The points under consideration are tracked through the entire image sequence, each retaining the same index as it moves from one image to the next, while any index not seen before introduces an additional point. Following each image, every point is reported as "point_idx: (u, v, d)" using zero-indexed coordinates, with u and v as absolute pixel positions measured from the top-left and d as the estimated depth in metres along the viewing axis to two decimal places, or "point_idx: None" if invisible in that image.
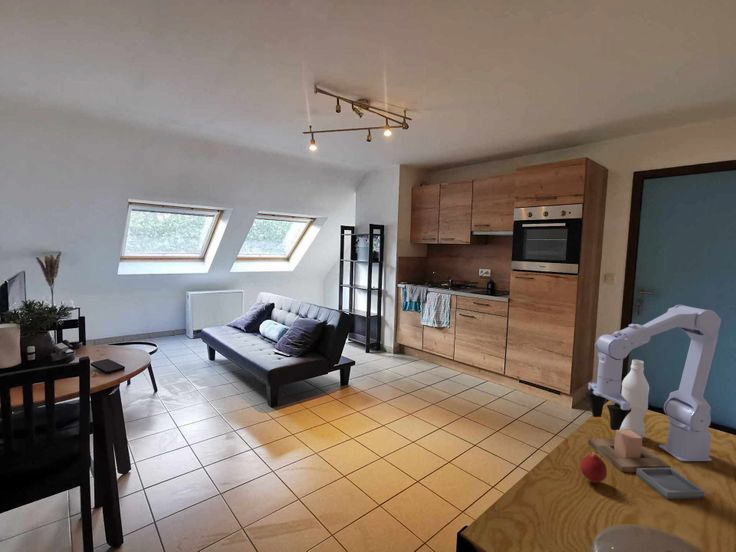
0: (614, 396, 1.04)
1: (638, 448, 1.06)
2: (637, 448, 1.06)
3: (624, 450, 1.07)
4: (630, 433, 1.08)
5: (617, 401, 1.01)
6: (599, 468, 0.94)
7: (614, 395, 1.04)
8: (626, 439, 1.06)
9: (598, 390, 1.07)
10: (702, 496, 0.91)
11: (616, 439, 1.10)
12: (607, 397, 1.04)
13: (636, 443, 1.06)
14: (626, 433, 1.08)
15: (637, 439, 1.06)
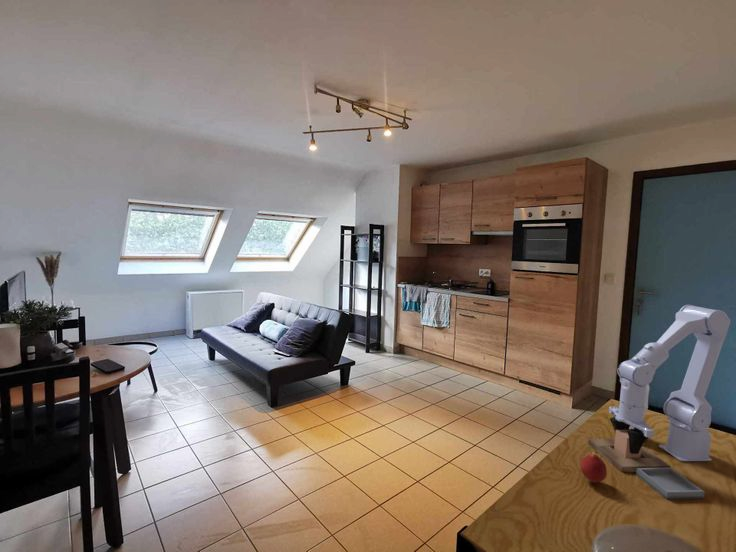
0: (637, 422, 1.04)
1: None
2: None
3: (624, 450, 1.07)
4: None
5: (640, 428, 1.02)
6: (599, 468, 0.94)
7: (637, 421, 1.04)
8: (626, 439, 1.06)
9: (620, 416, 1.07)
10: (702, 496, 0.91)
11: (616, 438, 1.10)
12: (630, 423, 1.04)
13: None
14: (626, 433, 1.08)
15: None
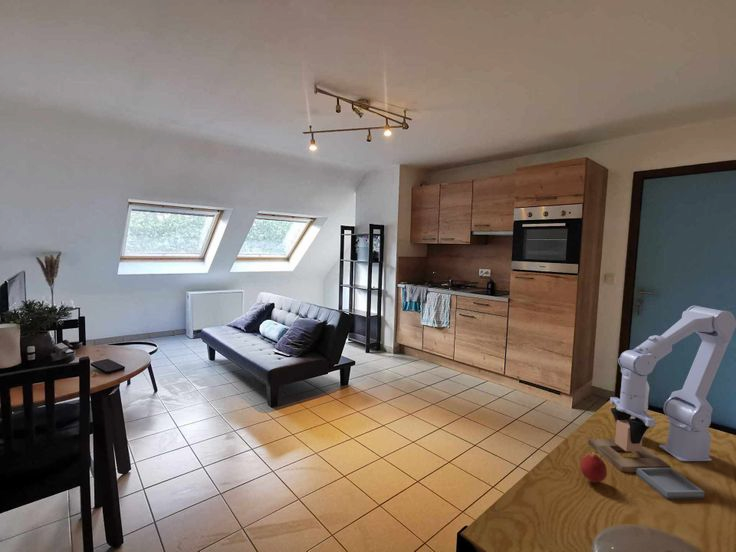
0: (638, 412, 1.04)
1: None
2: None
3: (625, 440, 1.06)
4: None
5: (642, 417, 1.02)
6: (599, 468, 0.94)
7: (638, 411, 1.04)
8: (628, 429, 1.05)
9: (621, 406, 1.07)
10: (702, 496, 0.91)
11: (617, 429, 1.09)
12: (631, 413, 1.04)
13: None
14: (627, 423, 1.08)
15: None
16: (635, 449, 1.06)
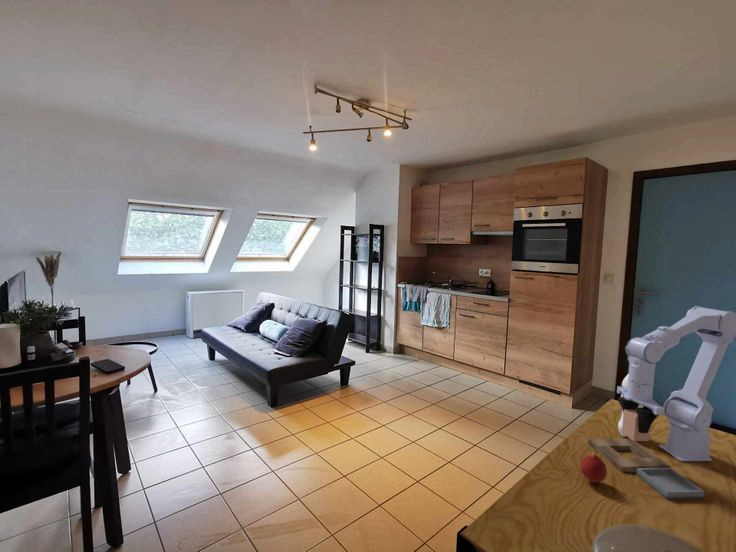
0: (646, 401, 1.02)
1: None
2: None
3: (632, 430, 1.04)
4: None
5: (650, 406, 0.99)
6: (599, 468, 0.94)
7: (646, 400, 1.02)
8: (635, 418, 1.03)
9: (629, 394, 1.04)
10: (702, 496, 0.91)
11: (624, 418, 1.07)
12: (639, 402, 1.02)
13: None
14: (635, 412, 1.05)
15: None
16: (643, 439, 1.03)
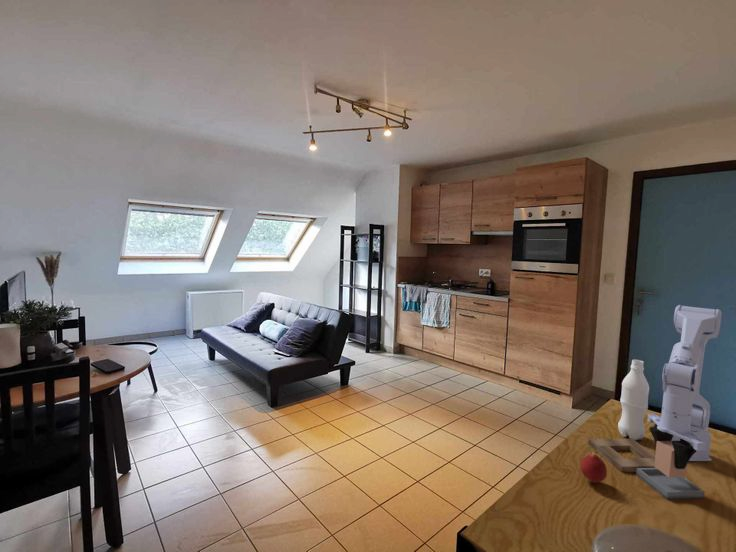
0: (684, 433, 0.91)
1: None
2: None
3: (667, 465, 0.93)
4: None
5: (689, 440, 0.89)
6: (599, 468, 0.94)
7: (684, 432, 0.91)
8: (671, 452, 0.92)
9: (663, 425, 0.94)
10: (702, 496, 0.91)
11: (657, 451, 0.96)
12: (676, 434, 0.91)
13: None
14: (670, 445, 0.95)
15: None
16: (679, 475, 0.93)
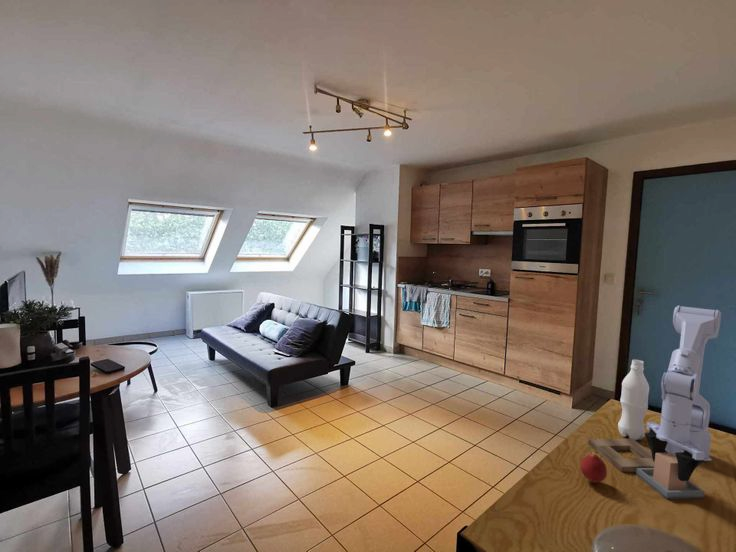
0: (683, 442, 0.91)
1: None
2: None
3: (666, 477, 0.94)
4: (672, 457, 0.95)
5: (688, 449, 0.89)
6: (598, 468, 0.94)
7: (683, 441, 0.91)
8: (670, 465, 0.93)
9: (662, 434, 0.94)
10: (702, 496, 0.91)
11: (655, 463, 0.97)
12: (675, 443, 0.91)
13: None
14: (668, 457, 0.95)
15: None
16: (678, 487, 0.93)
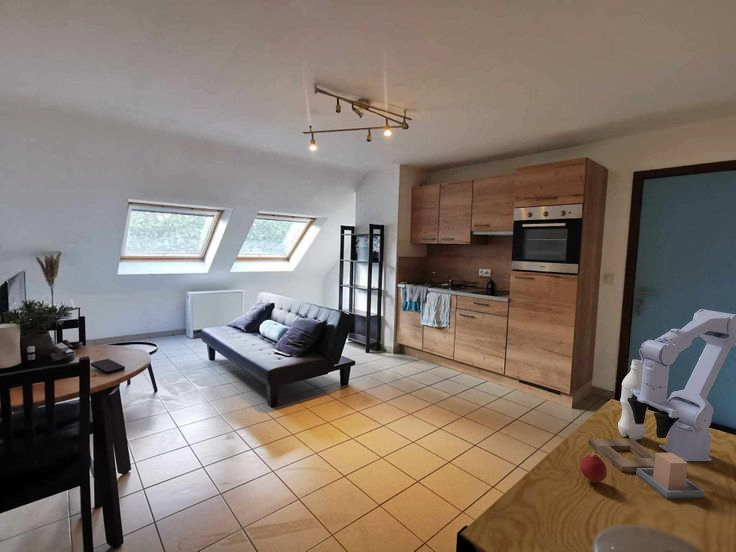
0: (660, 403, 1.01)
1: (683, 474, 0.93)
2: (682, 475, 0.93)
3: (666, 477, 0.94)
4: (672, 457, 0.95)
5: (665, 408, 0.99)
6: (598, 468, 0.94)
7: (660, 402, 1.01)
8: (670, 465, 0.93)
9: (643, 397, 1.04)
10: (702, 496, 0.91)
11: (655, 463, 0.97)
12: (653, 404, 1.01)
13: (681, 469, 0.93)
14: (668, 457, 0.95)
15: (681, 464, 0.93)
16: (678, 487, 0.93)
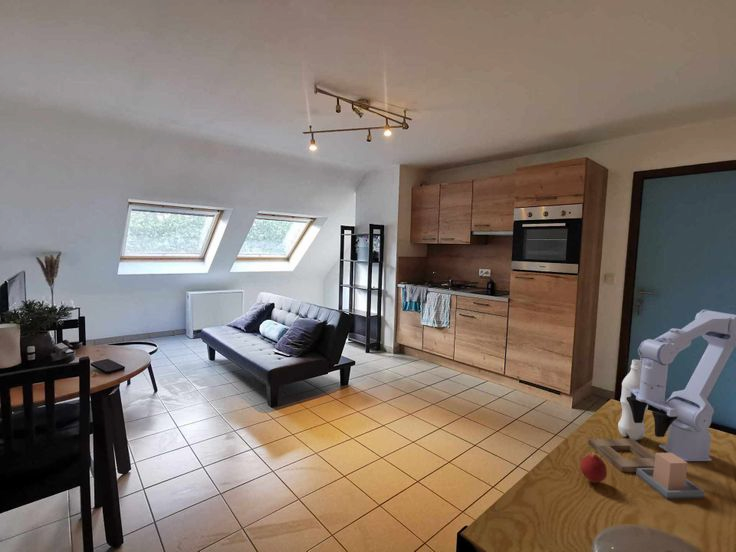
0: (659, 402, 1.02)
1: (683, 474, 0.93)
2: (682, 475, 0.93)
3: (666, 477, 0.94)
4: (672, 457, 0.95)
5: (663, 407, 1.00)
6: (599, 468, 0.94)
7: (659, 401, 1.02)
8: (670, 465, 0.93)
9: (641, 396, 1.05)
10: (702, 496, 0.91)
11: (655, 463, 0.97)
12: (652, 403, 1.02)
13: (681, 469, 0.93)
14: (668, 457, 0.95)
15: (681, 464, 0.93)
16: (678, 487, 0.93)
